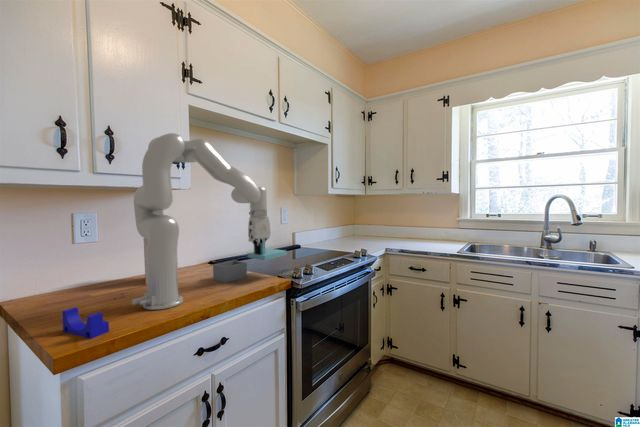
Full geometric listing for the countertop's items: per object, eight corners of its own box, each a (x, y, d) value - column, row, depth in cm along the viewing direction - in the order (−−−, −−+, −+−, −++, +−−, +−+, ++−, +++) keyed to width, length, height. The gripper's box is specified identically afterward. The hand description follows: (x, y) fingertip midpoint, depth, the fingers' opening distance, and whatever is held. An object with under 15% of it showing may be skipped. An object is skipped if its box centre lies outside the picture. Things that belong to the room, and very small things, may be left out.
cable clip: (109, 332, 81) (108, 311, 81) (91, 339, 77) (90, 317, 77) (81, 325, 86) (80, 305, 85) (63, 332, 81) (62, 311, 81)
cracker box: (147, 277, 138) (146, 233, 137) (162, 276, 140) (161, 233, 139) (144, 285, 125) (142, 237, 124) (160, 283, 128) (158, 236, 127)
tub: (225, 282, 129) (225, 267, 129) (213, 279, 134) (213, 264, 134) (246, 277, 139) (246, 262, 139) (234, 274, 144) (234, 260, 144)
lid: (264, 260, 130) (264, 244, 130) (247, 257, 137) (247, 242, 136) (286, 254, 142) (286, 240, 141) (270, 252, 149) (269, 238, 148)
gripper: (250, 215, 125) (251, 257, 127) (276, 213, 138) (277, 251, 139) (239, 214, 130) (240, 255, 131) (265, 212, 142) (266, 249, 144)
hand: (259, 253), depth 135 cm, fingers closed on lid, 1 cm apart
